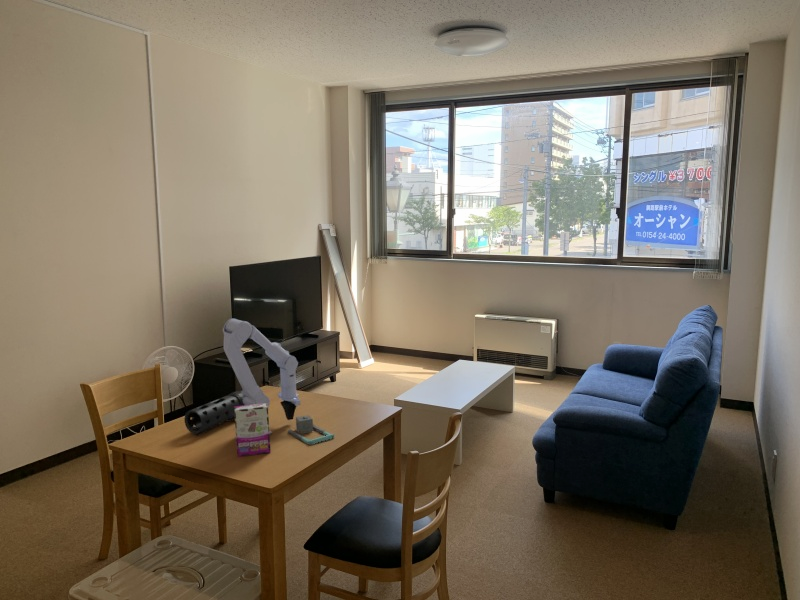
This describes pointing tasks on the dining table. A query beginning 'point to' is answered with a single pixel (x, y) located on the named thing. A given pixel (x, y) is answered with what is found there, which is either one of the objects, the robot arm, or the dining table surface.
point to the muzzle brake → (213, 413)
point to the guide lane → (316, 440)
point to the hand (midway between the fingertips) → (290, 419)
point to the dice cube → (304, 424)
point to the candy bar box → (252, 429)
